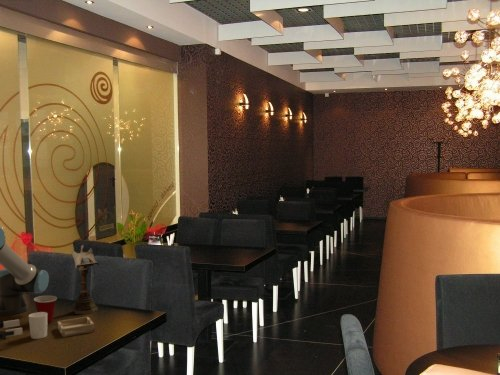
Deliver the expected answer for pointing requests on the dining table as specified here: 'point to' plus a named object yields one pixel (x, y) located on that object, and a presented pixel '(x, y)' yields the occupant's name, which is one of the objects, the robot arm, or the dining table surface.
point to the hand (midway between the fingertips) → (20, 326)
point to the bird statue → (84, 281)
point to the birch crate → (75, 326)
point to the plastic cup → (46, 305)
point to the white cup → (38, 325)
